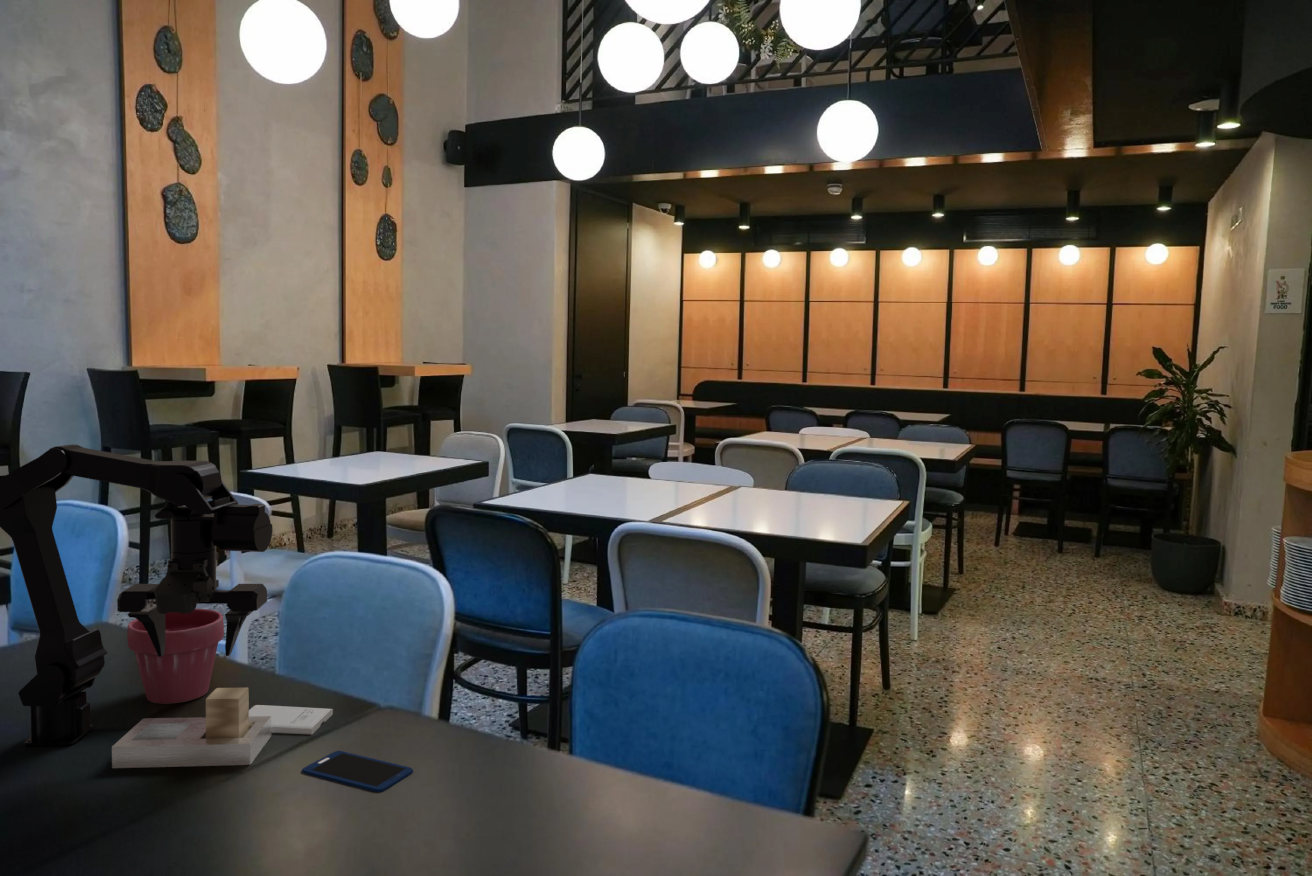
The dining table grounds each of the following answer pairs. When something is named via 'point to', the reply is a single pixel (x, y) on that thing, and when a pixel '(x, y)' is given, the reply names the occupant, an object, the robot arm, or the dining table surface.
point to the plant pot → (178, 655)
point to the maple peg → (227, 713)
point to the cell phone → (358, 771)
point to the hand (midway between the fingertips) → (195, 655)
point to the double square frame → (187, 744)
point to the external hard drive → (292, 718)
